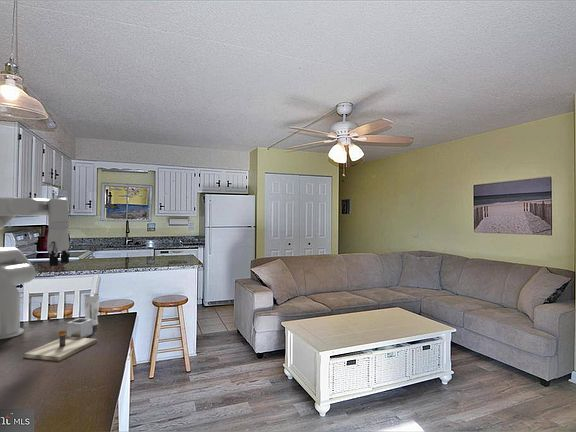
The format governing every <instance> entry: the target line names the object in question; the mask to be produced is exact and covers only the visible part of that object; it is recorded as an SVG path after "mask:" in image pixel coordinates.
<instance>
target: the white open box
mask: <svg viewBox="0 0 576 432" xmlns="http://www.w3.org/2000/svg"><path fill="white" fill-rule="evenodd" d="M93 327H94V326H93V319H85V317H83V318H82V317H81V318H79V317H78V318H77V319H73V320H71V321H70V320H69V321H68V322H66V336H67V337H80V338H87V337H90V336H91V335H93V329H94V328H93Z"/></svg>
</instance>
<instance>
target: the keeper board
mask: <svg viewBox="0 0 576 432" xmlns="http://www.w3.org/2000/svg"><path fill="white" fill-rule="evenodd" d="M58 336H59V338H58V339H55V340H52V341H50V342H48V343H46V344H44V345H42V346H39V347H36V348H33V349H32V350H29V351H27V352H25V353H23V358H24V359H25V358H26V359H35V360H36V359H37V360H46V361H55V362H60V361H62V360H64V359H66V358H69V357H70V356H72V355H75V354H76V353H78V352H80V351H83V350H84V349H86V348H89V347H91V346H92V345H95V344H97V342H98V338H91V337H90V338H89V337H88V338H87V337H85V338H80V337H67V330H65V329H61V330H59V331H58Z"/></svg>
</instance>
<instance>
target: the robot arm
mask: <svg viewBox="0 0 576 432" xmlns="http://www.w3.org/2000/svg"><path fill="white" fill-rule="evenodd" d="M18 216H48V217H47V219H48V220H47V221H48V223H47V224H48V225H47V226H48V232H47V241H46V243H47V244H46V246H47V247H46V248H47V249H46V251H47V253H48V259H49V267H57V266H59V256H58V254H59V252H60V253H61V254H60V263H61V264H69V263H70V247H71V244H70V237H69V230H70V222H69V220H70V219H69V217H70V216H69V201H68V199H66V198H59V197H58V198H56V197H55V198H39V197H9V196H7V197H4V196H3V197H2V196H1V197H0V231H1V230H3V229H4V228H5V227H6V226H7V225H8V224H9V223H10V222H11V221H12V220H13V219H14V218H15V217H18ZM35 277H36V269H35V267H34V265H33V264H32V263H31V262H30V260H29V259H28V258H27V257H26V255H25V254H24V253H23V251H21V250H20V249H19V248H17V247H14V246H6V247H5V246H3V247H1V246H0V340H4V339H5V340H6V339H10V338H14V337H18V336H21V335H23V334H24V332H25V329H24V328H22V327H21V294H20V291H19V289H18V288H17V285H22V284H25V283H26V284H27V283H29V282H32V281H33V280H34V279H35Z"/></svg>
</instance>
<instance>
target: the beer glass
mask: <svg viewBox="0 0 576 432" xmlns="http://www.w3.org/2000/svg"><path fill="white" fill-rule="evenodd" d="M82 306H83V313H84V318H85V319H93V327H95V326H98V325H99V321H98V320H99V319H98V315H99V309H100V294H99V293H87V294H84V295H83V305H82Z"/></svg>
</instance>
